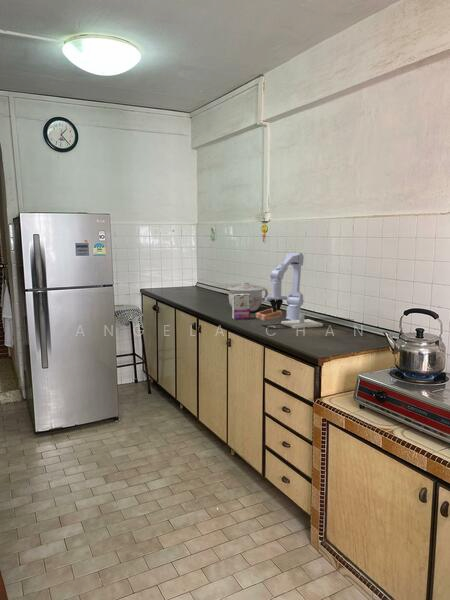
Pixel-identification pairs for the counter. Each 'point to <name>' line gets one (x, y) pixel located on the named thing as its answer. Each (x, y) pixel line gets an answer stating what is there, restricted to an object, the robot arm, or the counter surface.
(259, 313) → the loop
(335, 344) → the counter surface
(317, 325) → the hook board
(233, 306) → the candy bar box
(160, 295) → the counter surface
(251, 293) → the chamber pot
